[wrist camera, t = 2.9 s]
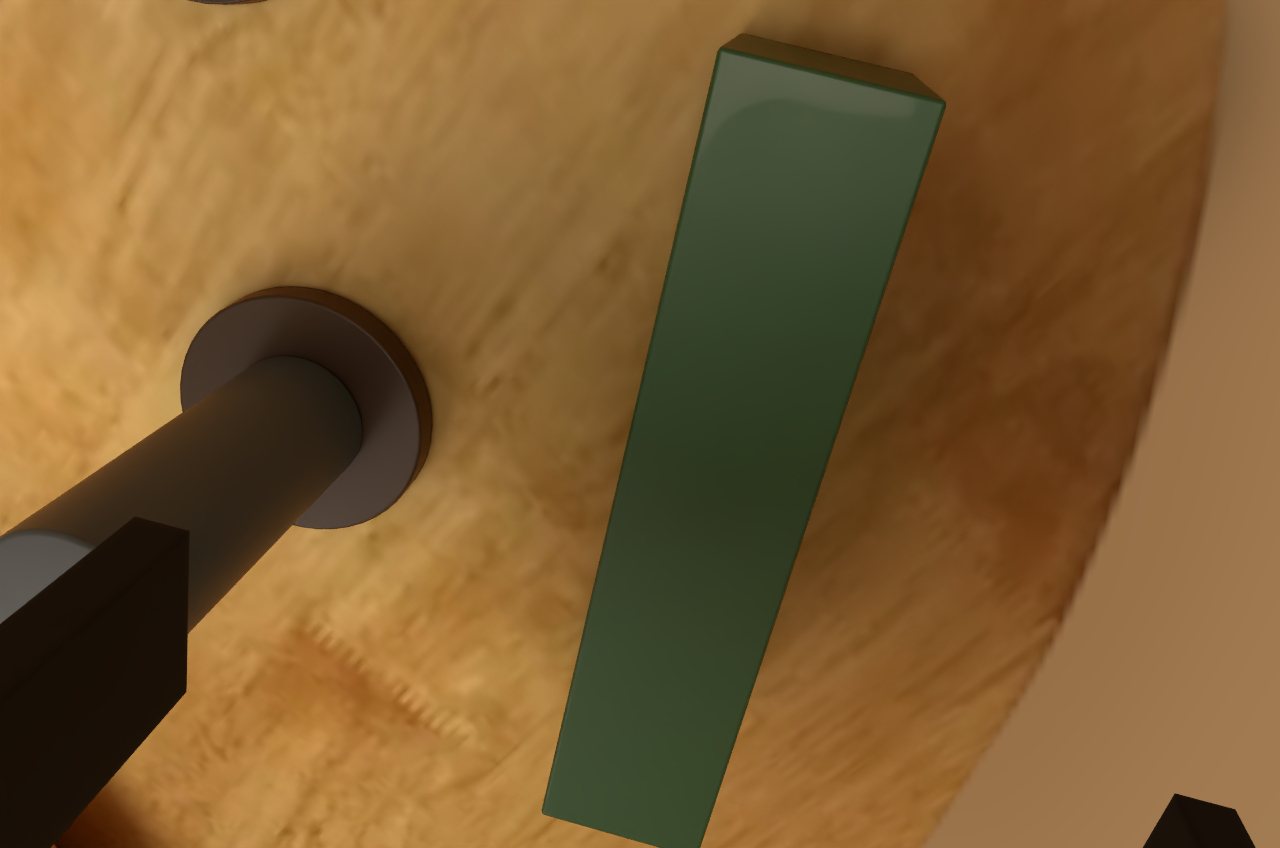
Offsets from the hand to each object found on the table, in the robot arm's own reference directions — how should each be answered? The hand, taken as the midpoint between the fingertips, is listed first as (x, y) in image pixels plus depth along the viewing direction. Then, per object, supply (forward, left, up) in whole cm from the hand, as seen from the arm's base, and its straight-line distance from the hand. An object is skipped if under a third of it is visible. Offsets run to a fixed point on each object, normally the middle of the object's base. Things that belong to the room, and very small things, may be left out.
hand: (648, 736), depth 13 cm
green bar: (0, 0, -11) cm, 11 cm away
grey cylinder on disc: (+10, 0, -11) cm, 14 cm away
